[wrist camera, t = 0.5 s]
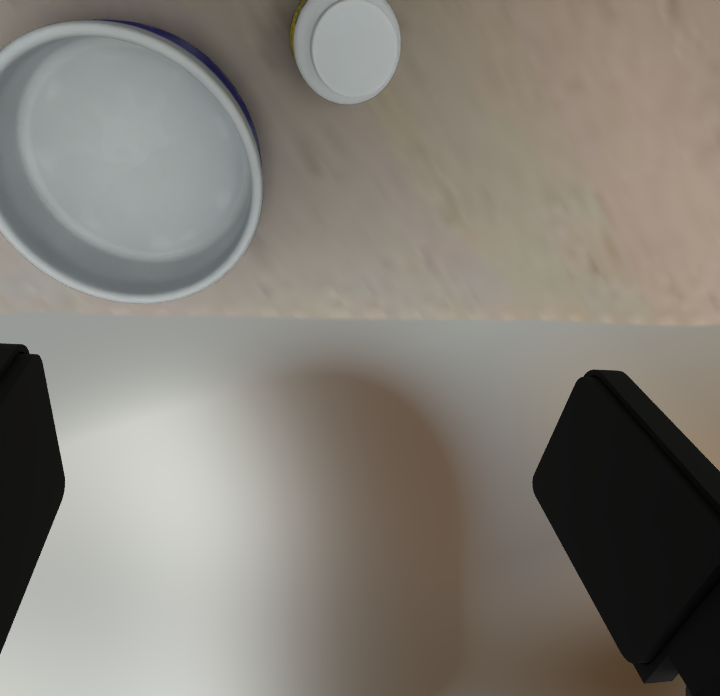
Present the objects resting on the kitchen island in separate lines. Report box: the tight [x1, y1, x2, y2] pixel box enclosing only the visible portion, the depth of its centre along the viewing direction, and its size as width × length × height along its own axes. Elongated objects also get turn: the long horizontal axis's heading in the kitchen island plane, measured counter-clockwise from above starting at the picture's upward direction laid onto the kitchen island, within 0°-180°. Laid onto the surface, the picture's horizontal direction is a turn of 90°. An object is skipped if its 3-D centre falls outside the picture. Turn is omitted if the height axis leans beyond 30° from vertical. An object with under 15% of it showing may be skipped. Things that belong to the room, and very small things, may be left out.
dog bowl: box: [0, 20, 263, 304], centre depth 32 cm, size 15×15×6 cm
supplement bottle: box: [290, 0, 401, 105], centre depth 28 cm, size 5×5×10 cm
